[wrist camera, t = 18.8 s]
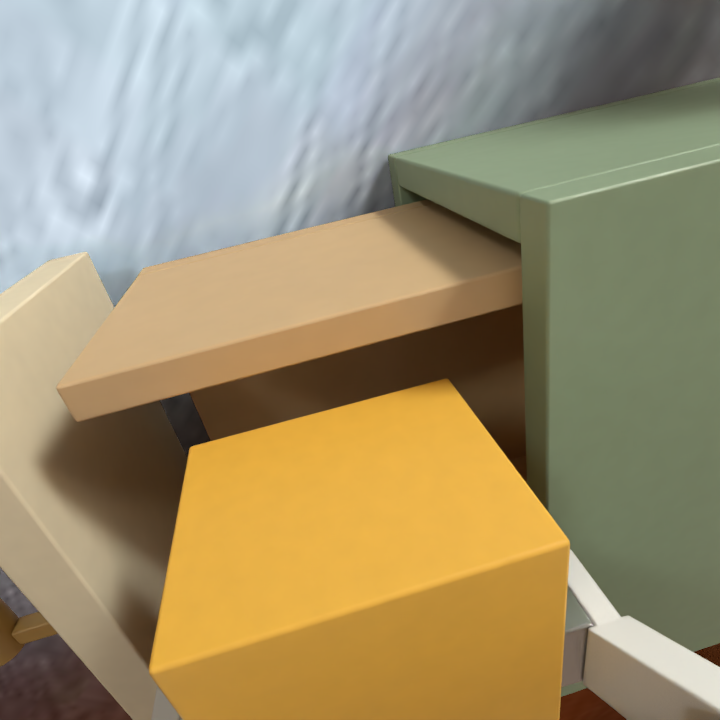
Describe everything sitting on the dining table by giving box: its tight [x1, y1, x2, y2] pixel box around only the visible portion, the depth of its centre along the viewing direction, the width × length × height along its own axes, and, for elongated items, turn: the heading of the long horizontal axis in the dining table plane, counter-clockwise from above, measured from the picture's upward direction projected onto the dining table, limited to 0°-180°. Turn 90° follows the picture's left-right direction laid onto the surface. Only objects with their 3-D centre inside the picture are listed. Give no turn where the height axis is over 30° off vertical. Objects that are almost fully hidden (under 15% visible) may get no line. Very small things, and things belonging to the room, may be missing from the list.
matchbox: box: [149, 379, 570, 720], centre depth 9 cm, size 8×6×4 cm, turn 10°
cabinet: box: [388, 78, 720, 697], centre depth 16 cm, size 17×15×10 cm
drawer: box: [0, 199, 527, 720], centre depth 14 cm, size 21×14×8 cm, turn 101°
